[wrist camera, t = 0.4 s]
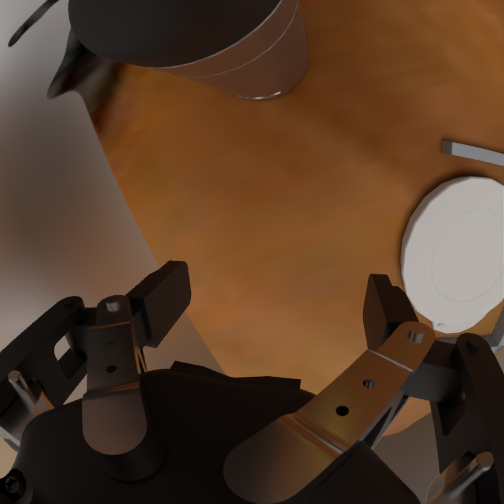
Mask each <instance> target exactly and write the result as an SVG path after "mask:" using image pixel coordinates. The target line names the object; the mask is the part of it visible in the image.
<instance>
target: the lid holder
mask: <svg viewBox="0 0 504 504" xmlns="http://www.w3.org/2000/svg"><path fill="white" fill-rule="evenodd" d="M442 152H443V153H447V154H451V155H456V156H461V157H466V158H471V159H476V160H481V161H485V162H489V163H493V164H498V165H502V166H504V154H501V153H497V152H494V151H490V150H486V149H482V148H478V147H473V146H469V145H464V144H460V143H455V142H449V141H443V140H442ZM481 337H482V338H484V339H485V340H486V341H487V342H488V344H489V345H490V347H491V349H492V351H493V353H499V352H501V350H502V348H503V346H504V309H503V311H502V313H501V316H500V318H499V321H498V323H497V325H496V327H495V330H494V332H493V334H492V336H481ZM435 340H438V341H442V342H447V343H452V344H455V343H456V340H457V338H446V339H435Z"/></svg>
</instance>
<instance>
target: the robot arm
mask: <svg viewBox="0 0 504 504" xmlns="http://www.w3.org/2000/svg"><path fill="white" fill-rule="evenodd" d="M68 7H69V8H68V11H69V20H70V24H71V27H72V30H73V32H74V34H75V35H76V37H77V38H78V40H79V41H80V42H81V43H82V44H83V45H84V46H85V47H86V48H88V49H89V50H91V51H92V52H94V53H96V54H98V55H100V56H103V57H105V58H108V59H112V60H115V61H120V62H124V63H129V64H133V65H138V66H142V67H147V68H151V69H155V70H158V71H162V72H166V73H170V74H173V75H177V76H180V77H184V78H187V79H190V80H193V81H197V82H200V83H203V84H206V85H209V86H212V87H215V88H217V89H220V90H223V91H226V92H228V93H231V94H234V95H235V96H238V97H241V98H245V99H250V100H261V101H262V100H269V99H274V98H277V97H280V96H282V95H284V94H286V93H287V92H289V91H291V90H292V89H293V88H294V87H295V86H296V85H297V84H298V83H299V82H300V80H301V79H302V78H303V76H304V74H305V71H306V69H307V65H308V49H307V41H306V34H305V28H304V21H303V16H302V10H301V4H300V0H69V4H68ZM190 300H191V288H190V280H189V273H188V266H187V263H186V262H184V261H172V260H170V261H168V262H167V263H166V264H165V265H163V266H162V267H161V268H160V269H159V270H157V271H155V272H153V273H151V274H149V275H148V276H147V277H146V278H144V280H142V281H141V282H140V283H139V285H137V286H135V287H134V288H133V289H132V290H131V291H130V292H128V293H127V294H126V295H125V296H124V295H113V296H109V297H107V298H105V299H103V300H101V301H100V302H99V303H98V305H97V307H94V308H85V306H84V303H83V300H82V298H81V297H78V296H71V297H67V298H64V299H62V300H60V301H59V302H57V303H56V304H55V305H54V306H53V307H51V308H50V309H49V310H48V311H46V312H45V313H44V314H43V315H42V316H41V317H39V318H38V319H37V320H36V321H35V322H33V323H32V324H31V325H30V326H29V327H28V328H27V329H25V330H24V331H23V332H22V333H21V334H20V335H19V336H18V337H16V339H14V340H13V341H12V342H11V343H10V344H9V345H8V346H7V347H5V349H3V350H2V351H1V352H0V437H2V438H3V439H4V440H5V441H6V442H7V443H8V444H9V445H10V447H11V448H12V449H14V450H15V451H18V454H17V457H16V460H15V462H14V464H13V466H12V469H11V470H10V472H9V473H8V474H7V475H6V476H5V477H3V478H1V479H0V504H421V503H420V501H419V499H418V498H417V496H416V495H415V494H414V493H413V491H412V490H411V489H410V488H409V487H408V486H407V485H406V484H405V483H404V482H403V481H402V480H401V479H400V478H399V477H398V476H397V475H396V474H395V473H394V472H393V471H392V470H391V469H390V468H389V467H388V466H387V465H386V464H385V463H384V462H383V461H382V460H381V459H380V458H379V457H378V456H377V454H376V453H375V452H374V451H373V450H372V449H373V448H374V447H375V445H376V444H377V443H378V441H379V440H380V438H381V437H382V435H383V434H384V432H385V431H386V430H387V428H388V427H389V426H390V424H391V423H392V422H393V420H394V419H395V418H396V416H397V415H398V414H399V412H400V411H401V409H402V408H403V407H404V405H405V404H406V402H407V401H408V399H409V398H410V397H415V398H419V399H424V400H429V401H430V406H431V411H432V417H433V422H434V429H435V436H436V443H437V451H438V460H439V470H440V475H439V476H438V477H437V478H436V479H435V480H434V481H433V482H432V483H431V485H430V487H429V490H428V493H427V499H426V502H425V504H504V374H503V371H502V369H501V367H500V365H499V363H498V361H497V359H496V357H495V355H494V353H493V351H492V349H491V347H490V345H489V344H488V342H487V341H486V340H485V339H484V338H482V337H481V336H479V335H476V334H473V333H464V334H461V335H460V336H459V337H458V338H457V340H456V343H455V344H452V343H447V342H442V341H438V340H435V333H434V331H433V330H432V329H431V328H430V327H429V326H427V325H425V324H423V323H420V322H419V321H418V319H417V316H416V314H415V312H414V310H413V308H412V307H411V303H410V301H409V299H408V297H407V295H406V293H405V292H404V291H403V290H402V289H400V288H399V287H398V286H392V284H391V282H390V280H389V277H388V275H385V274H370V275H369V278H368V284H367V290H366V296H365V302H364V308H363V323H364V328H365V334H366V340H367V346H368V350H366V351H365V352H364V353H363V354H362V355H361V356H360V357H359V358H358V359H357V360H356V361H355V362H354V363H353V364H352V365H350V366H349V367H348V368H347V369H346V370H345V371H344V372H343V373H342V374H341V375H340V376H338V377H337V378H336V379H335V380H334V381H333V382H332V383H331V384H329V385H328V386H327V387H326V388H325V389H324V390H322V391H321V392H320V393H319V394H318V395H315V394H313V393H311V392H308V391H305V390H302V389H300V384H301V379H291V378H281V377H271V376H262V377H241V378H233V377H229V376H226V375H224V374H221V373H218V372H216V371H213V370H211V369H208V368H206V367H204V366H199V365H193V364H188V363H183V362H179V361H175V362H174V363H173V365H172V366H171V368H170V369H158V370H152V371H148V367H147V363H146V358H145V354H144V351H143V347H144V346H149V347H153V348H157V346H158V345H159V344H160V342H161V341H162V340H163V338H164V337H165V336H166V334H167V333H168V332H169V331H170V329H171V328H172V326H173V325H174V324H175V323H176V321H177V320H178V319H179V317H180V316H181V314H182V313H183V312H184V311H185V309H186V308H187V307H188V305H189V303H190ZM64 335H65V336H66V339H67V341H68V344H69V346H70V348H69V349H68V351H67V352H66V353H65V354H64V355H63V356H62V357H61V358H60V359H59V360H58V361H57V359H56V357H55V354H54V347H55V345H56V343H57V342H58V341H59V340H60V339H61V338H62V337H63V336H64ZM86 374H87V392H86V393H85V394H84V395H83V397H82V398H81V399H78V400H75V401H73V402H70V403H67V404H65V405H63V404H64V402H65V401H66V400H67V398H68V397H69V396H70V395H71V393H72V392H73V391H74V389H75V388H76V387H77V386H78V384H79V383H80V382H81V380H82V379H83V378H84V377H85V375H86Z"/></svg>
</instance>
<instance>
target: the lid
mask: <svg viewBox="0 0 504 504" xmlns="http://www.w3.org/2000/svg"><path fill="white" fill-rule="evenodd" d="M400 263H401V273H402V278H403V283H404V288H405V292H406V295H407V296H408V298H409V299H410V301H411V303H412V304H413V306H414V307H415V309H416V311H418V312H419V313H420V314H422V315H423V316H425V317H426V318H428V319H429V320H430V321H431V323H432V326H433V329H434V330H437V331H440V332H443V333H457V332H461V331H463V330H466V329H468V328H470V327H472V326H474V325H475V324H476V323H477V322H478V321H480V320H481V319H482V318H483V317H484V316H485V315H486V313H487V312H489V311H490V310H491V309H493V308H494V307H495V306H496V305H498V304H499V303H500V302H501V301H502V299H503V298H504V186H503V185H502V184H500V183H498V182H496V181H495V180H493V179H491V178H486V177H473V176H468V177H459V178H456V179H453V180H450V181H447V182H444V183H442V184H440V185H439V186H438V187H437V188H435V189H434V190H433V191H432V192H430V193H429V194H428V195H427V196H425V197H424V198H423V200H422V201H421V203H420V204H419V206H418V207H417V208H416V210H415V211H414V213H413V214H412V215H411V217H410V219H409V222H408V225H407V228H406V231H405V233H404V236H403V239H402V248H401V260H400Z"/></svg>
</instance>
